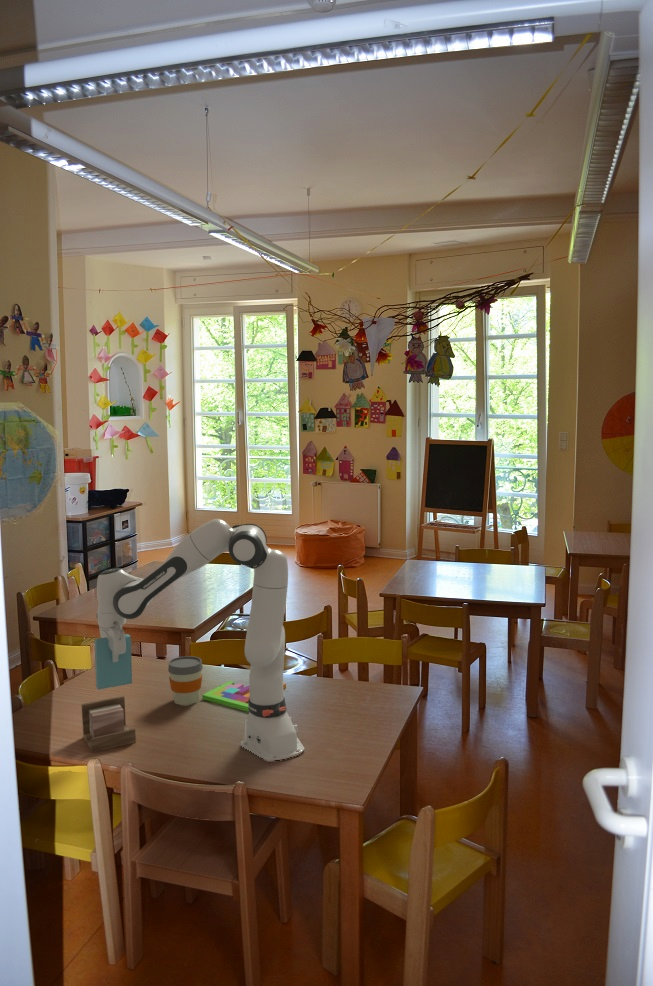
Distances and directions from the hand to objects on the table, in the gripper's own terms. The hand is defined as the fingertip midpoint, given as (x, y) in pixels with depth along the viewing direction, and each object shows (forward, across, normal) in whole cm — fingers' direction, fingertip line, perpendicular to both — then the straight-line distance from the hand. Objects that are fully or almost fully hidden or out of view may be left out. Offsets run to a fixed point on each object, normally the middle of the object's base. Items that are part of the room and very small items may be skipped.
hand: (113, 659), depth 251 cm
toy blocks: (+28, +14, -53) cm, 61 cm away
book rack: (+28, +1, +2) cm, 28 cm away
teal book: (+9, 0, 0) cm, 9 cm away
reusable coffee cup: (+28, +20, -31) cm, 46 cm away
